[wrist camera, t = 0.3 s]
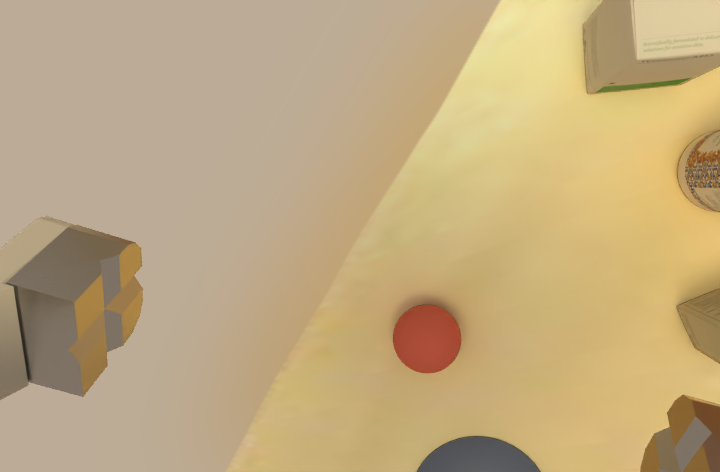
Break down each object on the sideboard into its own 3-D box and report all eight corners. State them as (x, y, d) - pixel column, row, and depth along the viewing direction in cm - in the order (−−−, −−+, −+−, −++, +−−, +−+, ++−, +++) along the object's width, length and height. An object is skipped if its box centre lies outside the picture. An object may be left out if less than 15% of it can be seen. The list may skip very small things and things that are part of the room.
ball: (468, 354, 63) (469, 371, 57) (406, 369, 64) (401, 389, 58) (450, 292, 63) (449, 303, 57) (388, 309, 64) (381, 322, 58)
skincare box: (585, 95, 60) (628, 65, 45) (580, 18, 60) (623, -39, 44) (686, 85, 59) (766, 51, 43) (682, 7, 58) (762, -56, 43)
